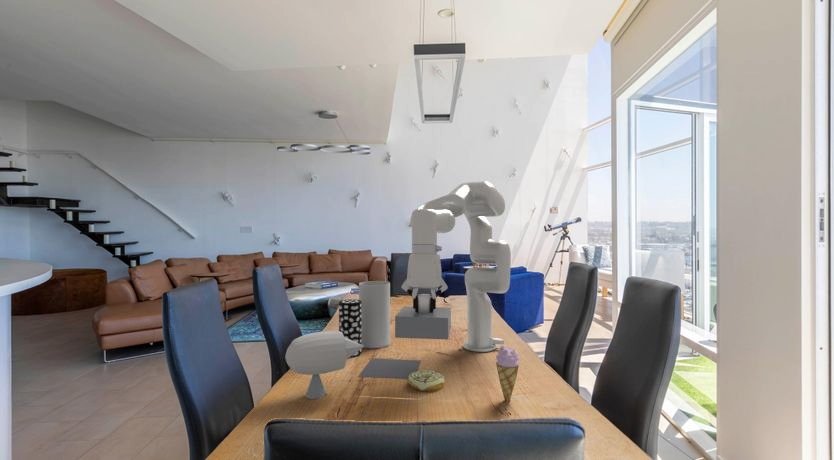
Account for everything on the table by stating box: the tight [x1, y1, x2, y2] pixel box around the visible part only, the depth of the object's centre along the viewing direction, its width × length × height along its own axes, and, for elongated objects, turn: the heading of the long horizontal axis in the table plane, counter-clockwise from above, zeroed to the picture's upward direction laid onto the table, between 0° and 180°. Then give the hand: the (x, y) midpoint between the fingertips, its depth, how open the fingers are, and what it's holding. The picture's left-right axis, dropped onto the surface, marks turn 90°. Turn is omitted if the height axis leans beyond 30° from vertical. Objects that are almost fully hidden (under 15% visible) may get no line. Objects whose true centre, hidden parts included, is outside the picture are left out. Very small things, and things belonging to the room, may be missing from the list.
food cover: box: [394, 293, 452, 340], centre depth 119 cm, size 15×15×11 cm
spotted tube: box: [338, 298, 363, 359], centre depth 148 cm, size 8×8×20 cm
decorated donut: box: [407, 369, 445, 392], centre depth 119 cm, size 10×11×4 cm
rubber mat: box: [357, 357, 422, 380], centre depth 133 cm, size 18×18×1 cm
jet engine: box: [285, 330, 364, 400], centre depth 113 cm, size 15×20×18 cm
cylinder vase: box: [358, 280, 391, 349], centre depth 162 cm, size 12×12×25 cm
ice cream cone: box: [495, 345, 520, 402], centre depth 109 cm, size 7×6×15 cm
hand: (424, 310), depth 119 cm, fingers closed on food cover, 4 cm apart
